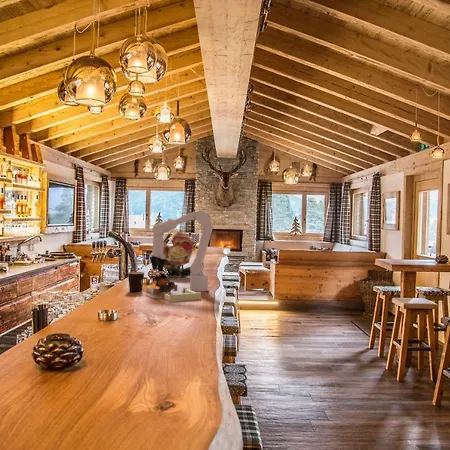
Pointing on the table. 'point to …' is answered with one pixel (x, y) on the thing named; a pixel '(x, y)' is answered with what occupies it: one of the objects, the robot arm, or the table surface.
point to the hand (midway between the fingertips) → (157, 270)
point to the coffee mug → (135, 281)
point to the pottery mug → (164, 285)
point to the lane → (174, 295)
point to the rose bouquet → (178, 255)
